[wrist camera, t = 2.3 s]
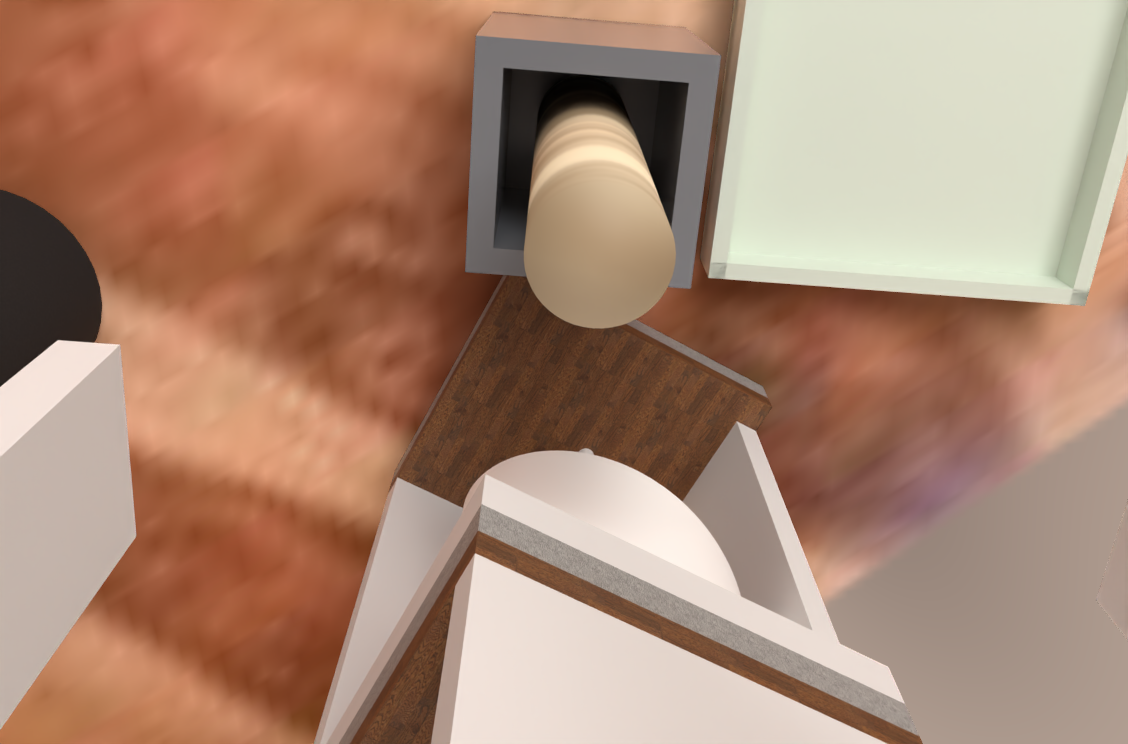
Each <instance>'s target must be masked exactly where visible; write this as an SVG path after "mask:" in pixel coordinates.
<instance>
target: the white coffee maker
mask: <svg viewBox="0 0 1128 744" xmlns="http://www.w3.org/2000/svg"><path fill="white" fill-rule="evenodd" d="M771 408H772V406H771V404H770V402H769V399H768V397H767V395H766V393H765V390H764V388H763V386H761V385H759V384H757V383H755V382H753V381H751V380H750V379H748V378H746V377H744V376H742V375H740V374H738V373H736V372H734V371H732V370H730V369H729V368H727V367H725V366H723V365H721V364H719V363H717V362H715V361H713V360H711V359H710V358H708V357H706V356H704V355H702V354H700V353H698V352H696V351H694V350H692V349H691V348H689V347H687V346H685V345H683V344H681V343H679V342H677V341H675V340H673V339H672V338H670V337H668V336H666V335H664V334H662V333H660V332H658V331H656V330H654V329H653V328H651V327H649V326H647V325H645V324H643V323H641V322H639V321H637V320H633V321H631V322H629V323H626V324H623V325H620V326H616V327H611V328H587V327H581V326H578V325H574V324H571V323H569V322H566V321H564V320H563V319H561V318H559V317H557V316H556V315H554V314H553V313H552V312H550V311H549V310H548V309H547V308H546V307H545V306H544V305H543V304H542V303H541V302H540V301H539V299H538V298H537V297H536V295H535V293H534V292H533V290H532V288H531V286H530V284H529V282H528V279H527V277H525V276H511V275H503V276H502V278H501V280H500V282H499V284H498V286H497V287H496V289H495V291H494V293H493V295H492V296H491V298H490V300H489V302H488V304H487V305H486V307H485V309H484V311H483V313H482V314H481V316H480V318H479V320H478V322H477V323H476V325H475V327H474V329H473V331H472V333H471V334H470V336H469V338H468V340H467V342H466V343H465V345H464V347H463V349H462V351H461V352H460V354H459V356H458V358H457V360H456V361H455V363H454V365H453V367H452V369H451V370H450V372H449V374H448V376H447V378H446V380H445V381H444V383H443V385H442V387H441V389H440V390H439V392H438V394H437V396H436V398H435V399H434V401H433V403H432V405H431V407H430V408H429V410H428V412H427V414H426V416H425V417H424V419H423V421H422V423H421V425H420V427H419V428H418V430H417V432H416V434H415V436H414V437H413V439H412V441H411V443H410V445H409V446H408V448H407V450H406V452H405V454H404V455H403V457H402V459H401V461H400V463H399V464H398V466H397V468H396V470H395V473H394V476H393V479H392V483H391V486H390V490H389V493H388V496H387V500H386V503H385V506H384V510H383V513H382V516H381V520H380V523H379V526H378V530H377V533H376V537H375V540H374V543H373V547H372V550H371V553H370V557H369V560H368V563H367V567H366V570H365V573H364V577H363V580H362V584H361V587H360V590H359V594H358V597H357V600H356V604H355V607H354V610H353V614H352V617H351V620H350V624H349V627H348V631H347V634H346V637H345V641H344V644H343V647H342V651H341V654H340V657H339V661H338V664H337V667H336V671H335V674H334V678H333V681H332V684H331V688H330V691H329V694H328V698H327V701H326V704H325V708H324V711H323V714H322V718H321V721H320V724H319V728H318V731H317V735H316V738H315V741H314V744H923V743H922V741H921V739H920V736H919V734H918V732H917V730H916V728H915V725H914V723H913V721H912V719H911V716H910V714H909V712H908V710H907V707H906V705H905V703H904V701H903V699H902V696H901V694H900V692H899V690H898V687H897V685H896V683H895V681H894V678H893V676H892V674H891V672H890V669H889V667H887V666H885V665H883V664H881V663H879V662H877V661H875V660H873V659H871V658H868V657H866V656H864V655H862V654H860V653H858V652H856V651H854V650H852V649H850V648H847V647H845V646H843V645H841V644H840V643H839V641H838V638H837V636H836V633H835V631H834V629H833V625H832V623H831V620H830V618H829V616H828V613H827V610H826V608H825V605H824V603H823V600H822V598H821V595H820V593H819V590H818V587H817V585H816V582H815V580H814V577H813V575H812V572H811V570H810V567H809V565H808V562H807V560H806V557H805V554H804V552H803V549H802V547H801V544H800V542H799V539H798V537H797V534H796V532H795V529H794V527H793V524H792V522H791V519H790V516H789V514H788V511H787V509H786V506H785V504H784V501H783V499H782V496H781V494H780V491H779V489H778V486H777V483H776V481H775V478H774V476H773V473H772V471H771V468H770V466H769V463H768V461H767V458H766V456H765V453H764V451H763V448H762V445H761V443H760V440H759V438H758V435H757V433H756V430H757V429H758V427H759V426H760V424H761V423H762V422H763V420H764V419H765V417H766V416H767V414H768V413H769V411H770V410H771Z"/></svg>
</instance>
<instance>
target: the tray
mask: <svg viewBox="0 0 1128 744" xmlns="http://www.w3.org/2000/svg"><path fill="white" fill-rule="evenodd" d="M1127 155H1128V0H734V5H733V12H732V20H731V27H730V35H729V42H728V50H727V57H726V65H725V72H724V80H723V87H722V95H721V102H720V110H719V118H718V125H717V133H716V140H715V148H714V155H713V163H712V170H711V178H710V185H709V193H708V200H707V208H706V215H705V223H704V230H703V238H702V246H701V253H700V260H701V262H702V264H703V267H704V269H705V271H706V274H707V276H708V278H717V279H730V280H744V281H757V282H771V283H784V284H798V285H811V286H825V287H838V288H852V289H865V290H878V291H892V292H905V293H919V294H932V295H946V296H959V297H973V298H986V299H1000V300H1013V301H1026V302H1040V303H1053V304H1067V305H1080V306H1085V304H1086V300H1087V297H1088V293H1089V290H1090V286H1091V283H1092V279H1093V275H1094V272H1095V268H1096V265H1097V261H1098V258H1099V254H1100V251H1101V247H1102V244H1103V240H1104V236H1105V233H1106V229H1107V226H1108V222H1109V219H1110V215H1111V212H1112V208H1113V205H1114V201H1115V197H1116V194H1117V190H1118V187H1119V183H1120V180H1121V176H1122V173H1123V169H1124V165H1125V162H1126V158H1127Z"/></svg>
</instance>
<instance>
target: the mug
mask: <svg viewBox="0 0 1128 744" xmlns="http://www.w3.org/2000/svg"><path fill="white" fill-rule="evenodd" d="M101 310H102V302H101V294H100V286H99V283H98V280H97V277H96V274H95V270H94V268H93V266H92V264H91V262H90V260H89V258H88V256H87V254H86V252H85V251H84V249H83V248H82V246H81V245H80V244H79V242H78V241H77V239H76V238H75V237H74V235H73V234H72V233H71V232H70V231H69V230H68V229H67V228H66V227H65V226H64V225H63V224H62V223H61V222H60V221H59V220H58V219H56V218H55V217H54V216H52V215H51V214H50V213H48V212H47V211H46V210H45V209H43V208H41V207H40V206H38V205H36V204H34V203H32V202H31V201H29V200H27V199H25V198H23V197H20V196H17V195H15V194H12V193H9V192H7V191H3V190H0V387H1V386H2V385H3V384H4V383H6V382H7V381H8V380H9V379H11V378H12V377H13V376H14V375H16V374H17V373H18V372H19V371H20V370H22V369H23V368H24V367H25V366H27V365H28V364H29V363H30V362H32V361H33V360H34V359H35V358H37V357H38V356H39V355H40V354H41V353H43V352H44V351H45V350H46V349H48V348H49V347H50V346H51V345H53V344H54V343H55V342H56V341H57V340H62V341H76V342H89V343H94V341H95V339H96V338H97V334H98V330H99V326H100V323H101Z"/></svg>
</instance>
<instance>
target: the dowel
mask: <svg viewBox="0 0 1128 744" xmlns="http://www.w3.org/2000/svg"><path fill="white" fill-rule="evenodd" d="M675 260H676V249H675V241H674V236H673V233H672V230H671V227H670V225H669V222H668V219H667V217H666V214H665V211H664V209H663V206H662V203H661V201H660V198H659V195H658V193H657V190H656V188H655V185H654V182H653V180H652V177H651V174H650V172H649V169H648V166H647V164H646V161H645V158H644V156H643V153H642V150H641V148H640V145H639V142H638V140H637V137H636V134H635V132H634V129H633V127H632V124H631V121H630V119H629V116H628V113H627V111H626V108H625V105H624V103H623V100H622V99H621V97H620V95H619V94H618V92H617V91H616V90H615V89H614V88H613V87H612V86H611V85H610V84H608V83H607V82H605V81H604V80H601V79H599V78H596V77H593V76H587V75H578V76H572V77H569V78H566V79H564V80H562V81H560V82H558V83H557V84H556V85H554V86H553V87H552V88H551V89H550V90H549V91H548V92H547V94H546V95H545V97H544V98H543V100H542V102H541V105H540V108H539V112H538V119H537V129H536V138H535V148H534V158H533V167H532V177H531V187H530V197H529V206H528V216H527V226H526V235H525V245H524V266H525V272H526V275H527V279H528V282H529V284H530V286H531V288H532V290H533V292H534V293H535V295H536V297H537V298H538V299H539V301H540V302H541V303H542V304H543V305H544V306H545V307H546V308H547V309H548V310H549V311H550V312H552V313H553V314H554V315H556V316H557V317H559V318H561V319H563V320H564V321H566V322H569V323H571V324H574V325H578V326H581V327H587V328H611V327H616V326H620V325H623V324H626V323H629V322H631V321H633V320H635V319H637V318H639V317H640V316H642V315H643V314H645V313H646V312H648V311H649V310H650V309H651V308H652V307H653V306H654V305H655V304H656V303H657V302H658V301H659V300H660V298H661V297H662V296H663V294H664V293H665V291H666V289H667V287H668V285H669V283H670V281H671V278H672V275H673V272H674V267H675Z"/></svg>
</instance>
